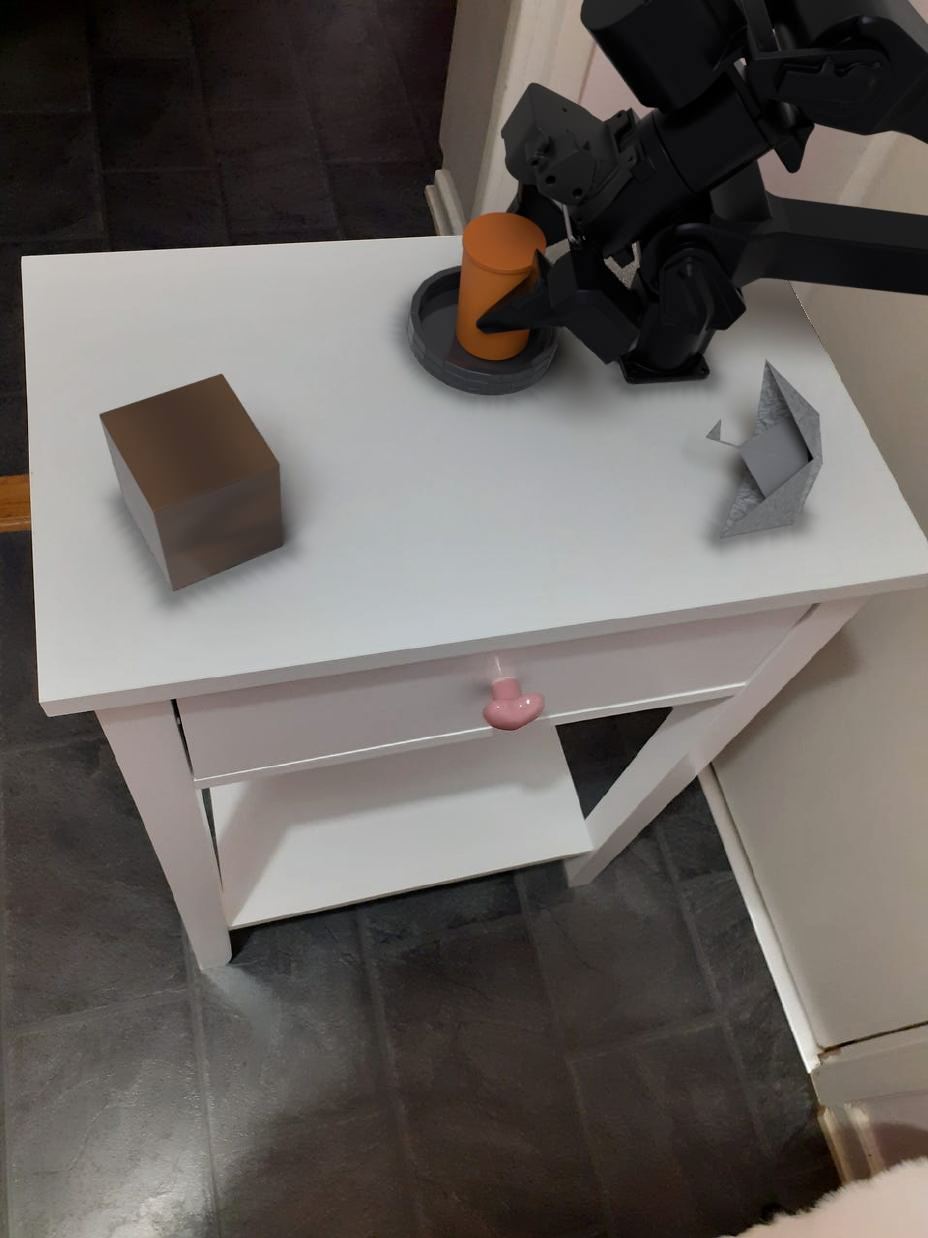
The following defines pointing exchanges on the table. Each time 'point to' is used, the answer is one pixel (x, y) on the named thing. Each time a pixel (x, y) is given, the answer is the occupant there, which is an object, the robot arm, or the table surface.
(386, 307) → the table surface
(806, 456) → the paper boat
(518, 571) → the table surface
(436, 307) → the pan
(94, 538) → the table surface
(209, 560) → the block
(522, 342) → the orange tin can
